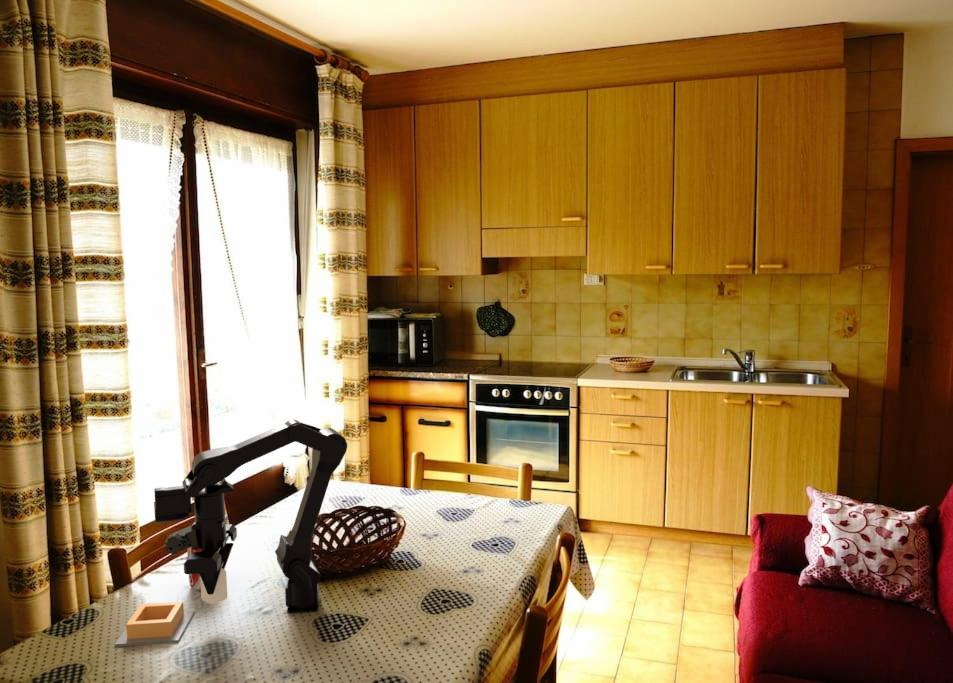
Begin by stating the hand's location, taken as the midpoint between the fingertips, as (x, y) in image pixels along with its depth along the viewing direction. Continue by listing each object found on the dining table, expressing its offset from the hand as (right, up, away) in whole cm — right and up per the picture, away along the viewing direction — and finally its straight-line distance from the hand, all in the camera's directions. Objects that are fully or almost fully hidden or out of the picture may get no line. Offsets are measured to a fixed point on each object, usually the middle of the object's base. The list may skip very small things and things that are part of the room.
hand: (214, 587), depth 147 cm
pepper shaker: (0, -3, 0) cm, 3 cm away
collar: (-12, -8, 0) cm, 14 cm away
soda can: (-9, -6, +19) cm, 22 cm away
